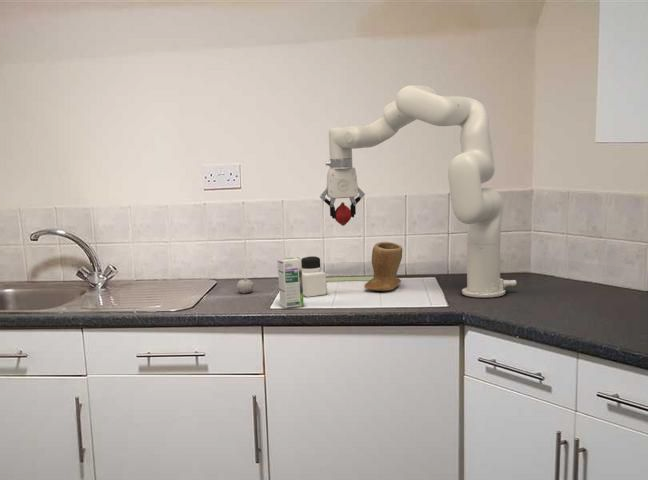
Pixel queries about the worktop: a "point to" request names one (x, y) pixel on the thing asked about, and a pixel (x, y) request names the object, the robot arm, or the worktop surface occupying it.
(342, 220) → the pomegranate
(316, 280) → the medicine bottle
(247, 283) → the garlic
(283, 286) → the syrup box
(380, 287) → the stone cup
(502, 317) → the worktop surface
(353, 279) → the edge strip
